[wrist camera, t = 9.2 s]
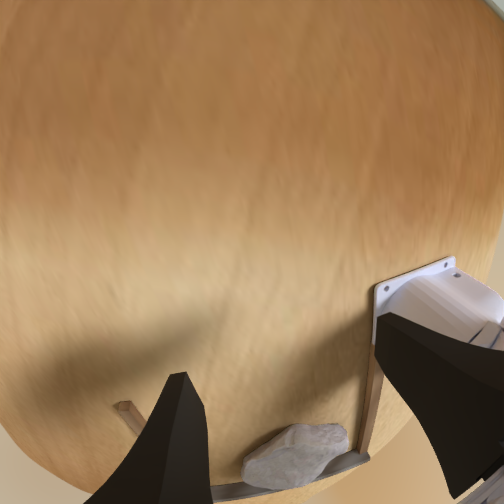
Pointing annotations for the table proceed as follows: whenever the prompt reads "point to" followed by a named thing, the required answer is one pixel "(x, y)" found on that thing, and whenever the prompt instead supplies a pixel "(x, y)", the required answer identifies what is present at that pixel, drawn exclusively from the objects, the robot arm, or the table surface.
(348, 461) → the u-shaped frame
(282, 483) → the stone block
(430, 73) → the table surface
